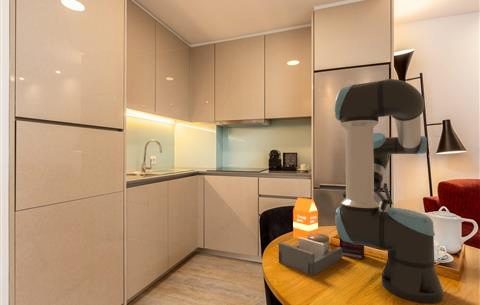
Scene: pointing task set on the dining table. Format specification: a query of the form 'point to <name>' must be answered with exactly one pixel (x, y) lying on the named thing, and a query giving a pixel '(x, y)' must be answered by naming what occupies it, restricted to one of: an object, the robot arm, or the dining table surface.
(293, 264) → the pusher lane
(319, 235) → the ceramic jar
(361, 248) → the supplement box
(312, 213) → the orange juice
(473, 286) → the dining table surface
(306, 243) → the plate
